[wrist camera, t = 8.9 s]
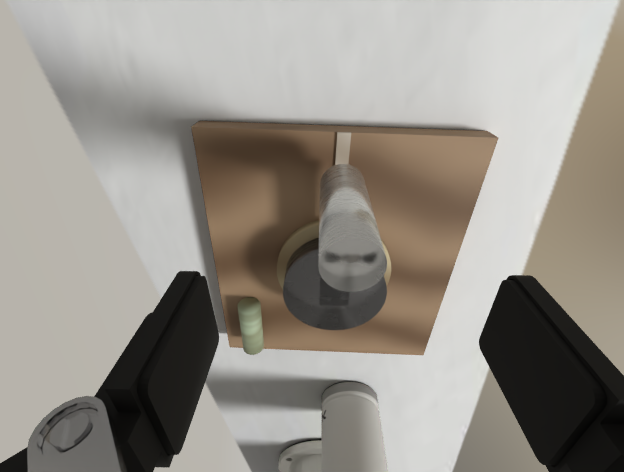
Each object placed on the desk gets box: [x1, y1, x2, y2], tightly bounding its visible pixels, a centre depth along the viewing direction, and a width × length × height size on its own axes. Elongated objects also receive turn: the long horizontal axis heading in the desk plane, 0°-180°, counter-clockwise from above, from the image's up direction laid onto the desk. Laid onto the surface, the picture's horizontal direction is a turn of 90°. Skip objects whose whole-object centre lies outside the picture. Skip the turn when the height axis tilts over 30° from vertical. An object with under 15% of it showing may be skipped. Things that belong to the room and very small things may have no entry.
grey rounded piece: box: [283, 164, 387, 330], centre depth 18 cm, size 7×13×9 cm, turn 179°
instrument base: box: [191, 121, 498, 355], centre depth 24 cm, size 20×18×3 cm
